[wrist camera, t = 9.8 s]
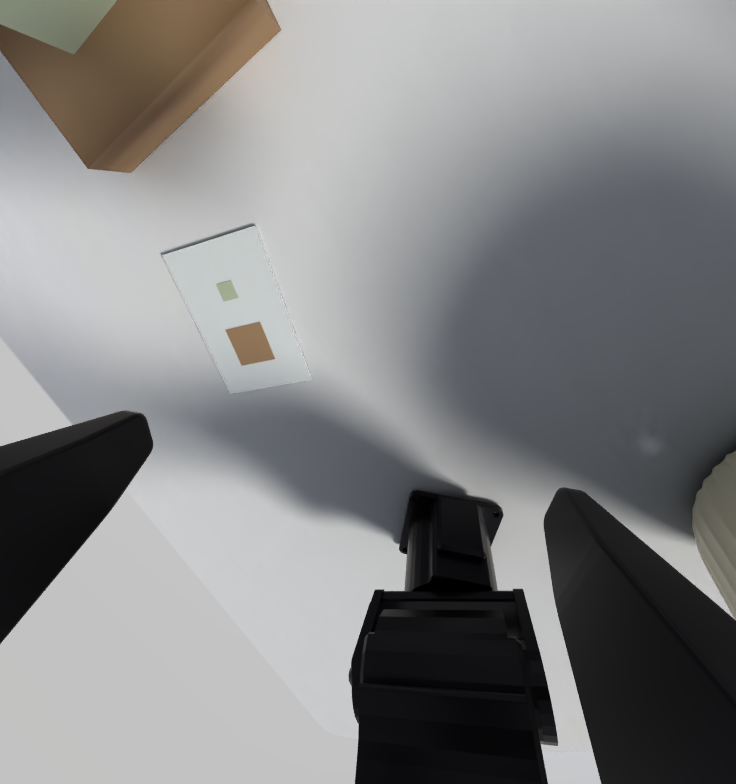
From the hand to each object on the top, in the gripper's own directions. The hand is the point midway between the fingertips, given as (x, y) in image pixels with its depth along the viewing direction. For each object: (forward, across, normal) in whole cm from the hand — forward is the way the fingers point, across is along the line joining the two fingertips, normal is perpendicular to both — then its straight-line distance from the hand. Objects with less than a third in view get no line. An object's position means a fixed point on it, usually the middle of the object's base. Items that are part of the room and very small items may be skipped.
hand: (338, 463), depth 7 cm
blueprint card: (+13, +9, +2) cm, 16 cm away
